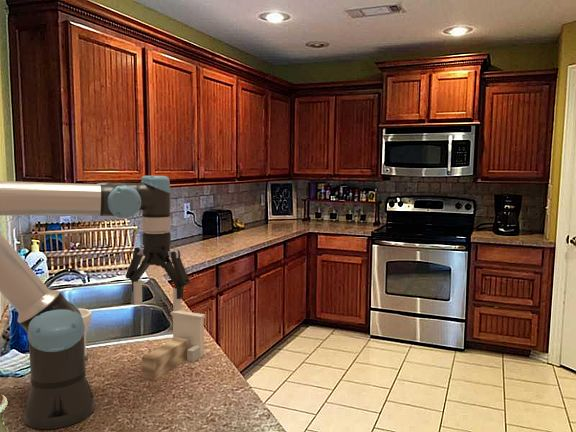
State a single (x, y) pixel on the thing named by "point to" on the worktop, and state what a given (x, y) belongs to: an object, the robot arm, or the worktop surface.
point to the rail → (164, 358)
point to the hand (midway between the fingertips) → (157, 306)
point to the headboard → (190, 332)
